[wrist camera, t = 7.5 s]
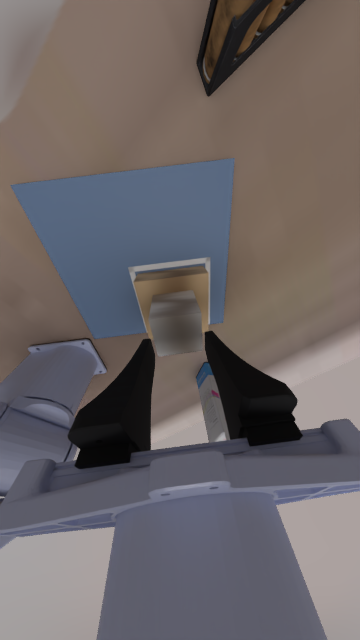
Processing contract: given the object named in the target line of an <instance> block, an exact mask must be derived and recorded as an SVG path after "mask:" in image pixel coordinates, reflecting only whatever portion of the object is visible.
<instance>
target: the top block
mask: <svg viewBox="0 0 360 640" xmlns="http://www.w3.org/2000/svg"><path fill="white" fill-rule="evenodd" d="M148 320H149V324H150V328H151V331H152V335H153V339H154V343H155V346H156V350H157V354H158V357H159V356H166V355H174V354H182V353H189V352H197V351H202V318H201V311H200V308H199V305H198V303H197V300H196V297H195V295H194V292H193V290H188V291H180V292H172V293H165V294H157V295H153V296H152V302H151V308H150V314H149V319H148Z"/></svg>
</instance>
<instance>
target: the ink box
mask: <svg viewBox="0 0 360 640" xmlns="http://www.w3.org/2000/svg"><path fill="white" fill-rule="evenodd" d="M196 379H197V384H198V389H199V394H200V399H201V404H202V409H203V414H204V419H205V424H206V429H207V434H208V440H209V443H210V442H218V441H225V440H230V437H229V432H228V428H227V423H226V419H225V415H224V411H223V407H222V403H221V399H220V395H219V391H218V387H217V384H216V381H215V378H214V376H213V373H212V370H211V367H210V365H209V363H204V365H203V366H202V368H201V370H200V372H199V374H198V375H197V377H196Z"/></svg>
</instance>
